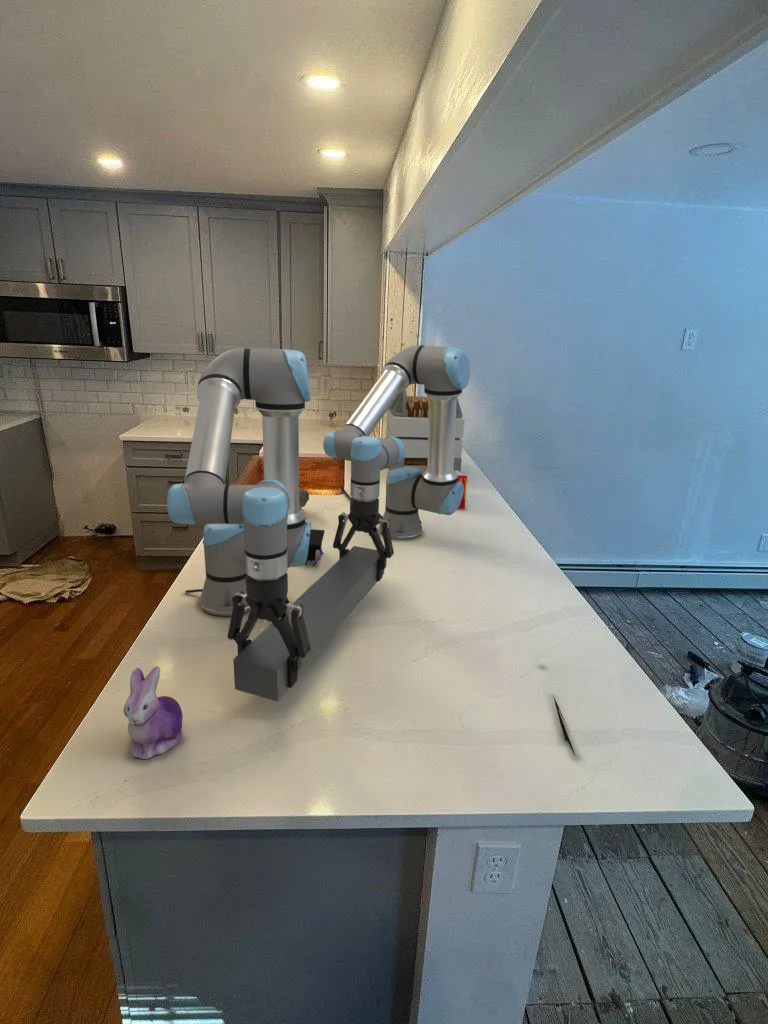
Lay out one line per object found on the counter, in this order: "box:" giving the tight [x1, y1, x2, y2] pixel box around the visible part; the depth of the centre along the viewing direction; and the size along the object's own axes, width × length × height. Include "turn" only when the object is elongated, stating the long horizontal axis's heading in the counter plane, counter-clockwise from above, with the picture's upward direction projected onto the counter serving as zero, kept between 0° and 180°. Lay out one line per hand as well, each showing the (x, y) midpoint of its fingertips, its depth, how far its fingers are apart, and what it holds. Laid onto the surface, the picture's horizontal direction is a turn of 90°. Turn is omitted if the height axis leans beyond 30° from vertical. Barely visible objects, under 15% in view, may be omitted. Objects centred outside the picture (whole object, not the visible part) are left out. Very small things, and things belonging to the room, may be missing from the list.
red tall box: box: [455, 471, 468, 510], centre depth 238 cm, size 12×13×30 cm
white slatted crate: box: [385, 389, 465, 474], centre depth 268 cm, size 34×33×41 cm
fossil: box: [299, 488, 310, 511], centre depth 210 cm, size 22×10×15 cm
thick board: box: [232, 545, 385, 703], centre depth 131 cm, size 59×9×7 cm, turn 161°
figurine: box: [122, 665, 183, 760], centre depth 99 cm, size 9×10×15 cm
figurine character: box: [304, 528, 326, 567], centre depth 176 cm, size 7×8×15 cm
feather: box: [552, 695, 579, 756], centre depth 115 cm, size 2×28×2 cm
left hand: (269, 677), depth 110 cm, fingers closed on thick board, 9 cm apart
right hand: (362, 575), depth 154 cm, fingers closed on thick board, 9 cm apart
